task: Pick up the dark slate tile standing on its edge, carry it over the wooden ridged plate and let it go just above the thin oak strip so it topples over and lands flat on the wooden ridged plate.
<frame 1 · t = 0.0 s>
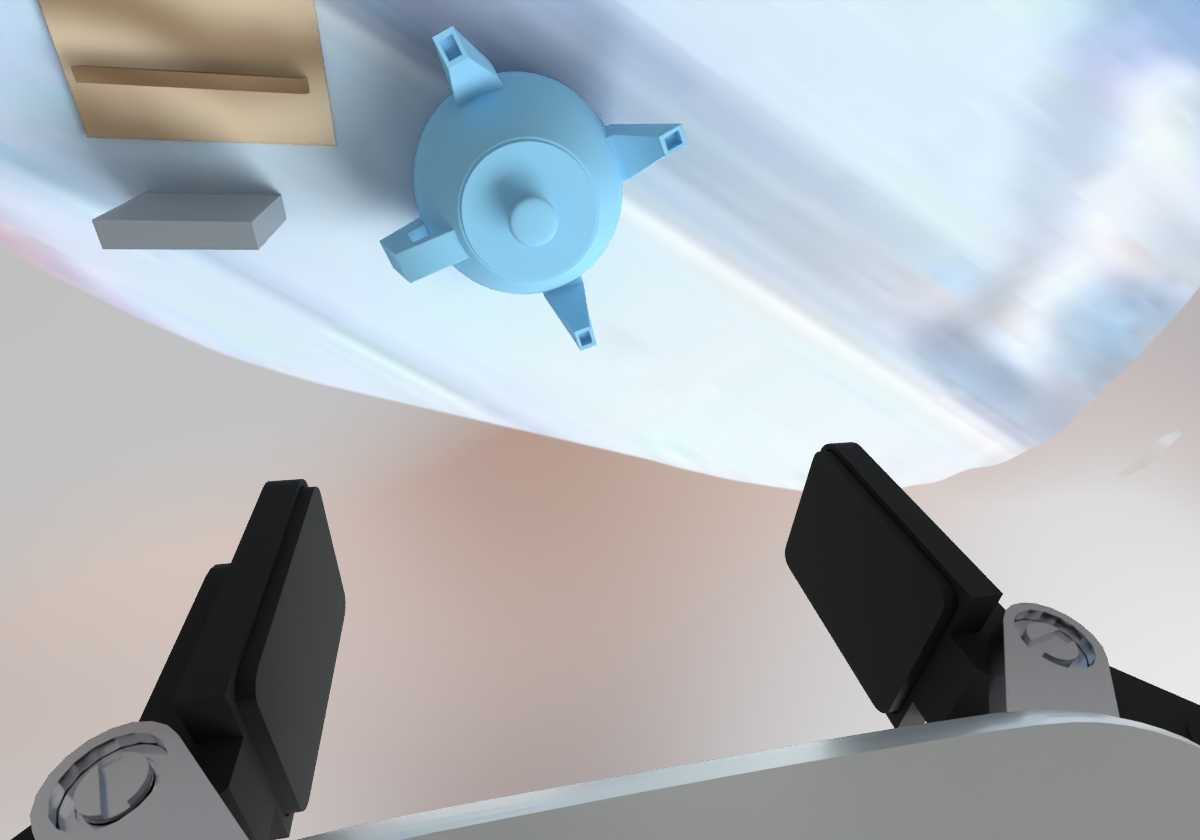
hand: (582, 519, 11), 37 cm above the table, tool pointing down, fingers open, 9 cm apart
tile: (218, 205, 40), on the table
wooden ridged plate: (189, 27, 35), on the table
teapot: (521, 181, 43), on the table
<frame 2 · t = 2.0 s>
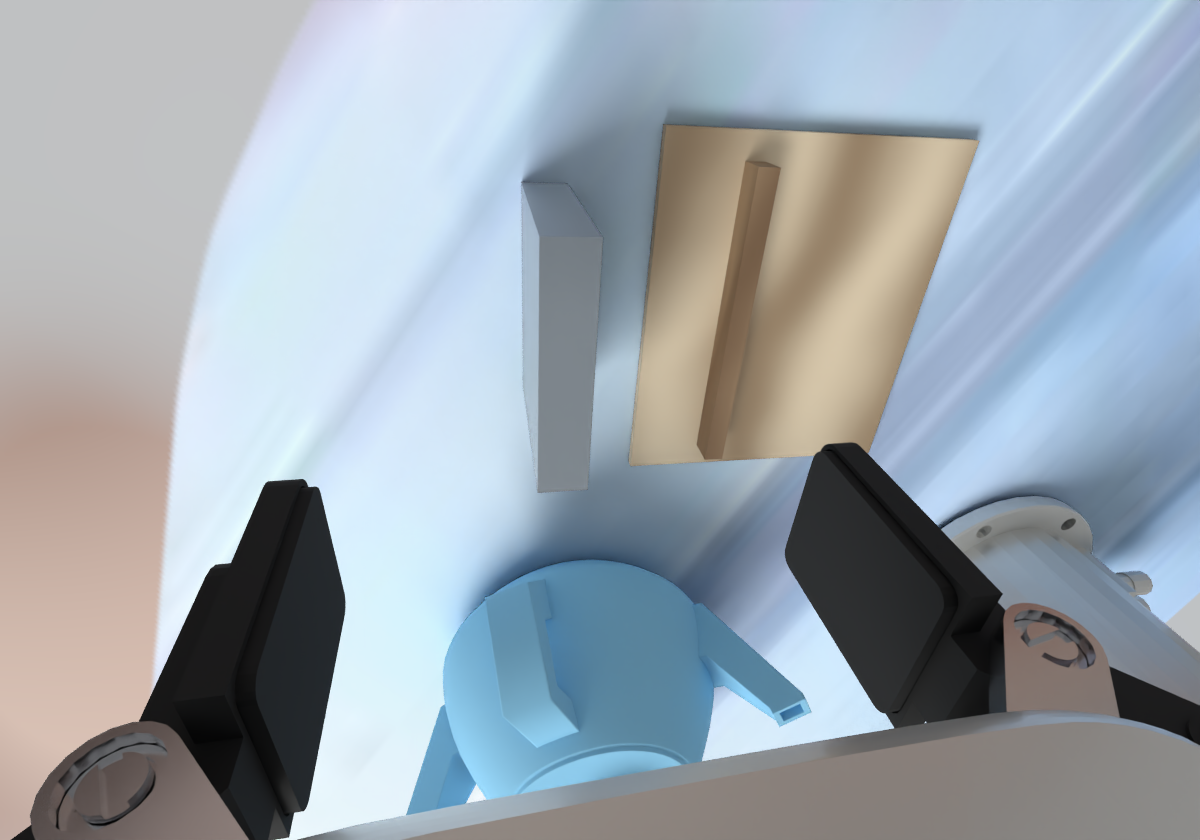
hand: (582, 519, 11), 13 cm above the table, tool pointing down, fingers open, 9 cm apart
tile: (543, 293, 23), on the table
wooden ridged plate: (782, 316, 25), on the table
teapot: (574, 633, 34), on the table
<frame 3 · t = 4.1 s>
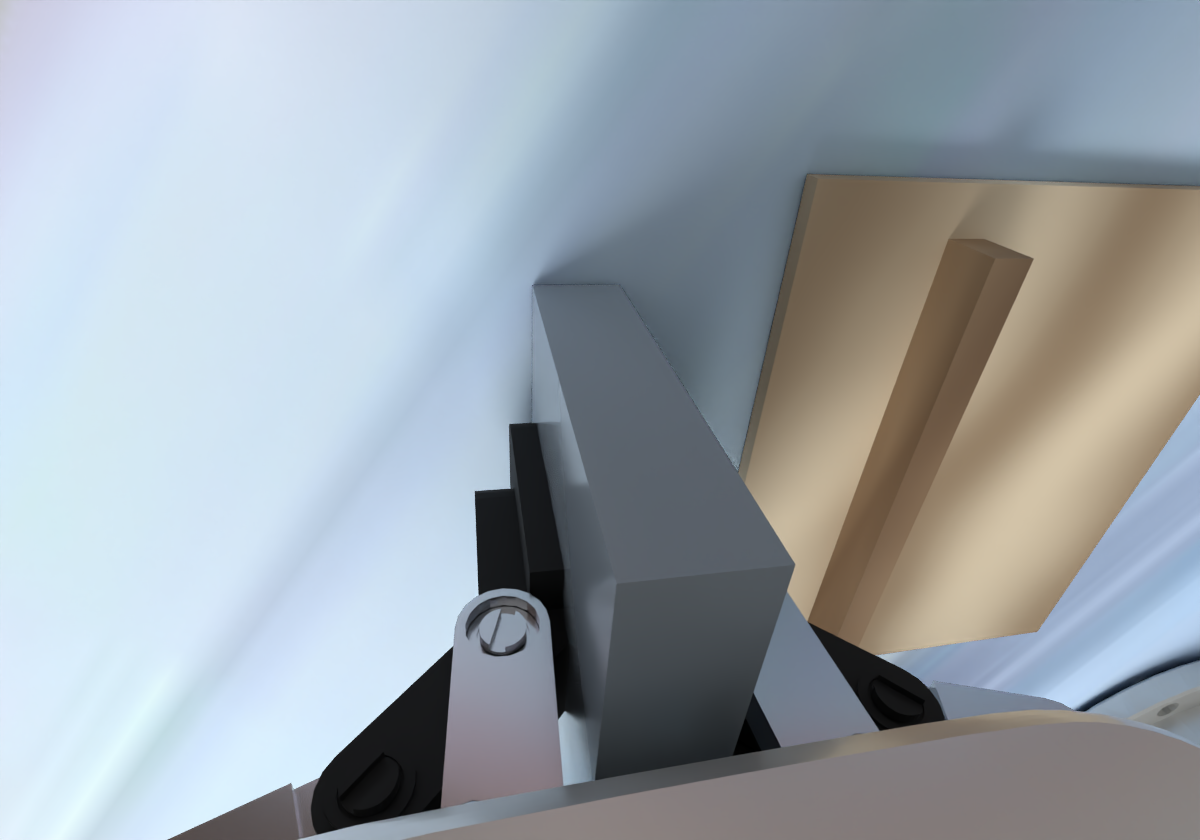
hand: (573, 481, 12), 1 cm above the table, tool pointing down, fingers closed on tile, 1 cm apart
tile: (568, 463, 13), on the table, touching gripper
wooden ridged plate: (952, 468, 15), on the table
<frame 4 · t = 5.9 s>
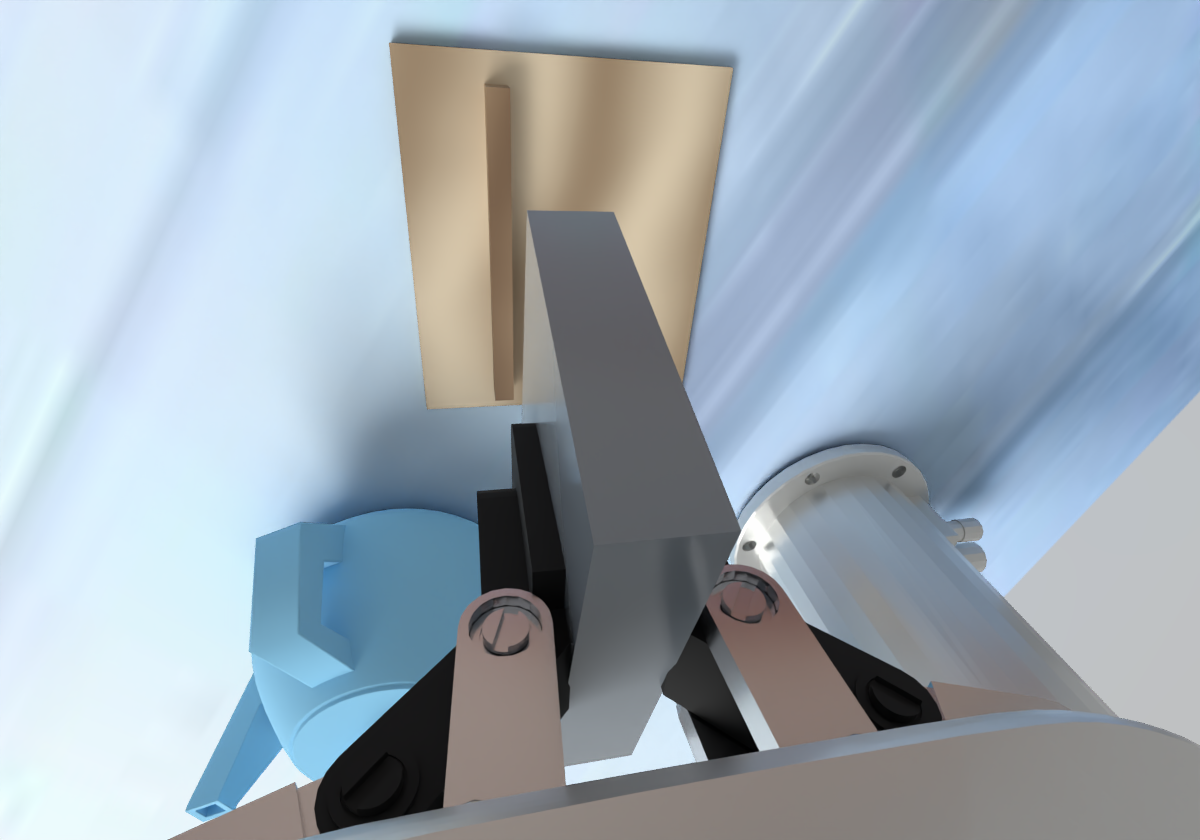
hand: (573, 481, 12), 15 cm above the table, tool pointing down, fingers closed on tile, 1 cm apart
tile: (557, 375, 14), point 12 cm above the table, tilted 13°, touching gripper
wooden ridged plate: (562, 253, 25), on the table
teapot: (409, 586, 34), on the table
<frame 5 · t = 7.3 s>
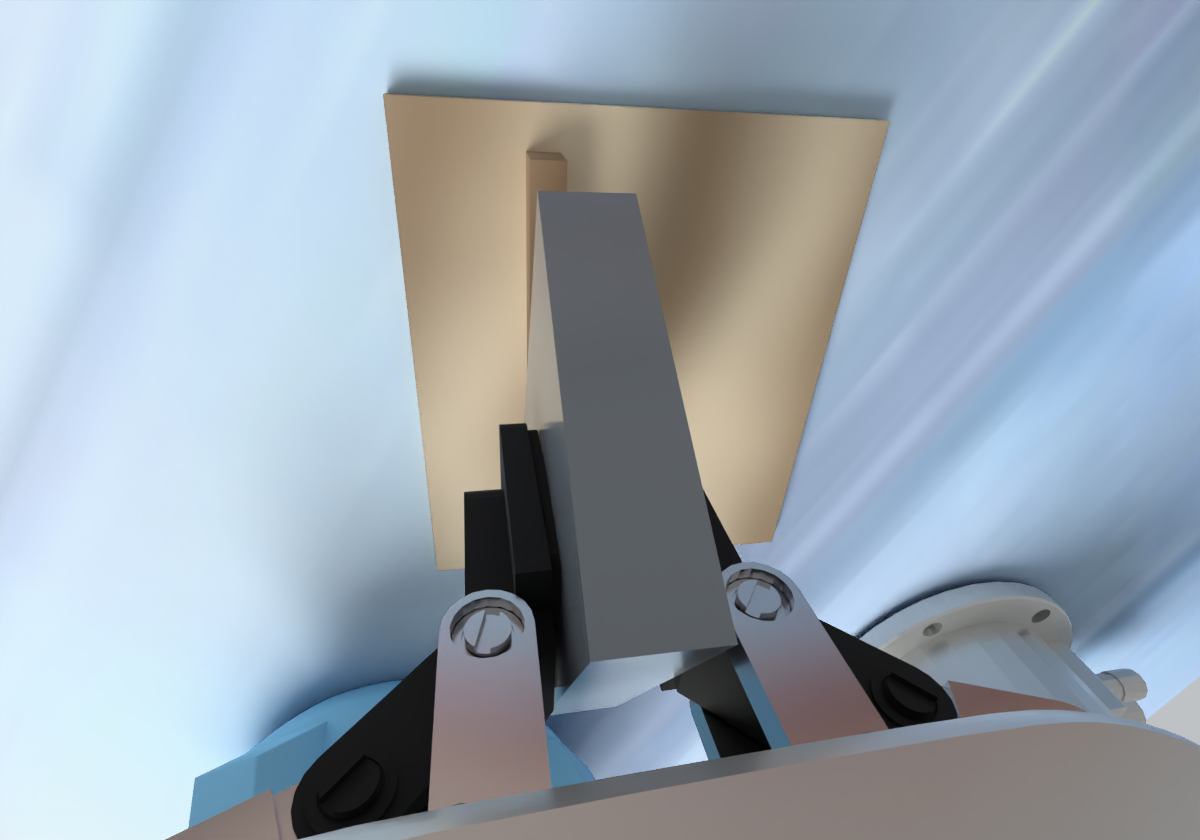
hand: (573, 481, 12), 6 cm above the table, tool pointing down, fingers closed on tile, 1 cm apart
tile: (565, 342, 13), point 4 cm above the table, tilted 29°, touching gripper, wooden ridged plate
wooden ridged plate: (627, 372, 18), on the table
teapot: (413, 759, 26), on the table
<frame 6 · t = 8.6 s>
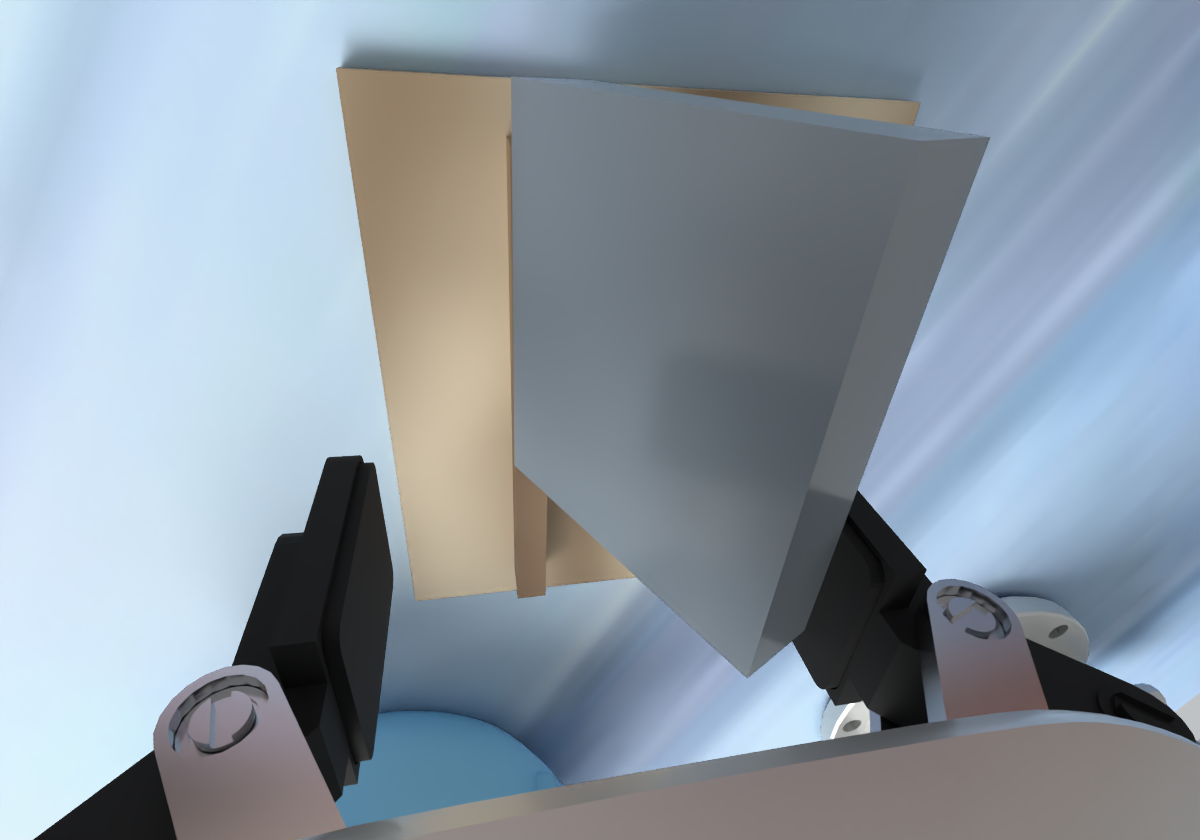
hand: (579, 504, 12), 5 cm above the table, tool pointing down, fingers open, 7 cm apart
tile: (545, 297, 13), point 2 cm above the table, tilted 28°, touching gripper, wooden ridged plate
wooden ridged plate: (623, 384, 16), on the table
teapot: (395, 791, 25), on the table
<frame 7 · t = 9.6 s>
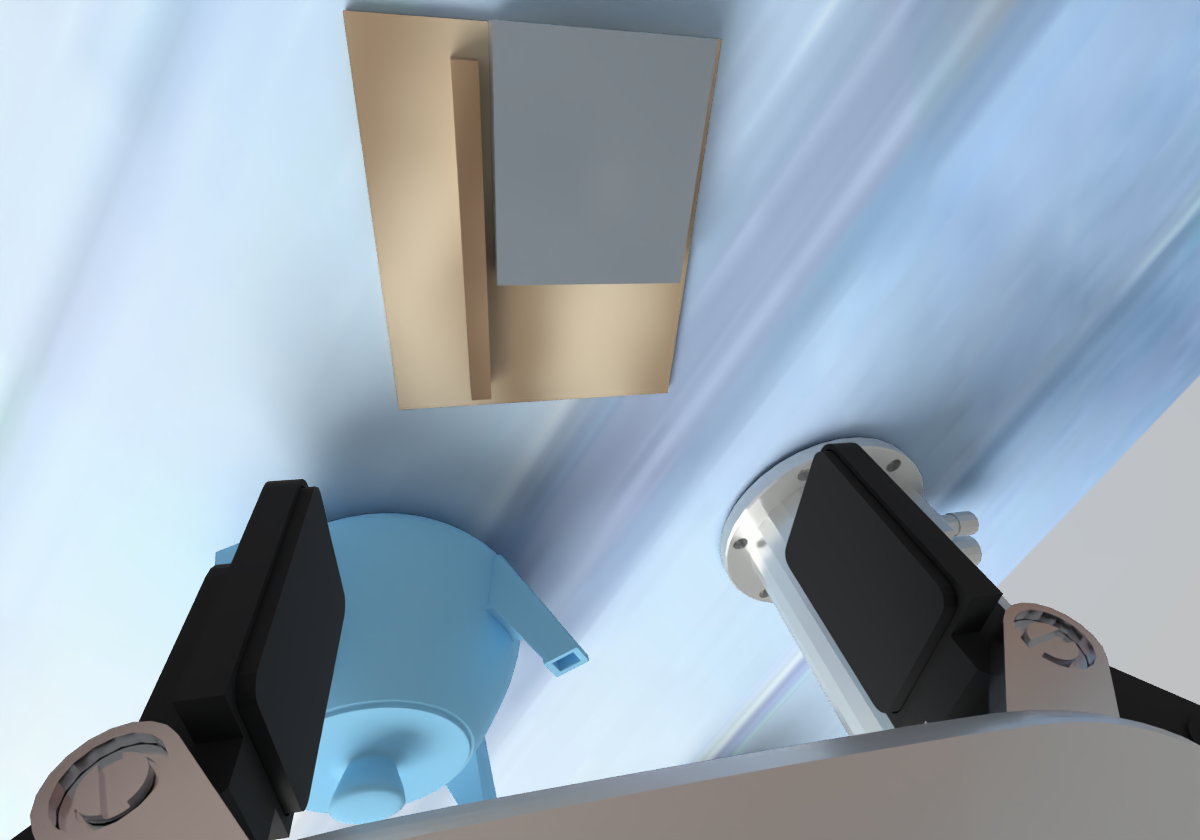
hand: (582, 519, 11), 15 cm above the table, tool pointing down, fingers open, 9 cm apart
tile: (493, 162, 20), point 1 cm above the table, tilted 90°, touching wooden ridged plate
wooden ridged plate: (540, 242, 23), on the table
teapot: (387, 592, 32), on the table
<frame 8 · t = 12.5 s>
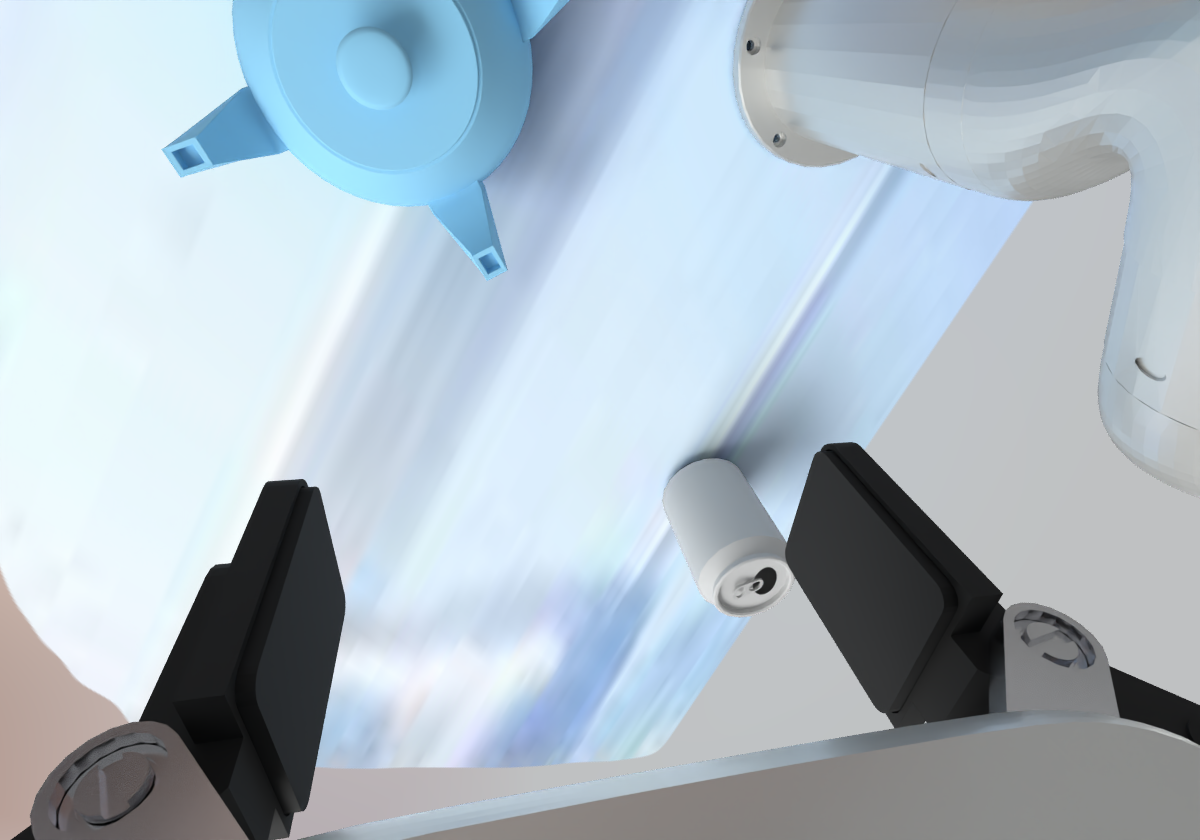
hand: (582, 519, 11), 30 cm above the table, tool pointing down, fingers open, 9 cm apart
can: (699, 485, 53), on the table
teapot: (399, 63, 32), on the table
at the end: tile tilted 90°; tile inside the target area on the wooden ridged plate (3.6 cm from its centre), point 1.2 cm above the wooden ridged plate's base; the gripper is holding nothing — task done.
